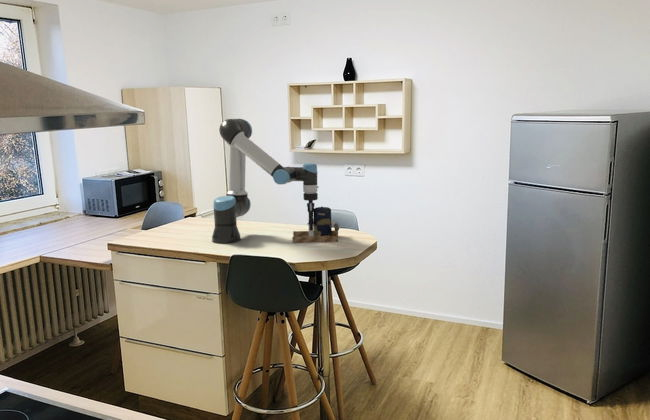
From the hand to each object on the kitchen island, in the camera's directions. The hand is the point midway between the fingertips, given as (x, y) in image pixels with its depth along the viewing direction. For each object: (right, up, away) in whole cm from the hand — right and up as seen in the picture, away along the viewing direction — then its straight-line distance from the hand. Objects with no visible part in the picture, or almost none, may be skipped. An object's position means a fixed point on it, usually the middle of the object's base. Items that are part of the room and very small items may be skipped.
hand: (311, 235), depth 282 cm
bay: (+2, -2, 0) cm, 3 cm away
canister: (+6, -2, +1) cm, 7 cm away
